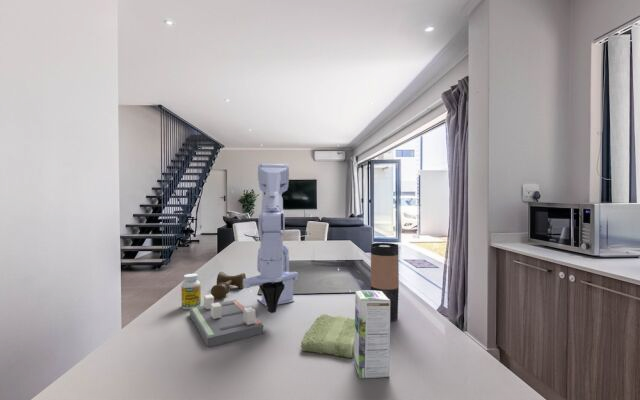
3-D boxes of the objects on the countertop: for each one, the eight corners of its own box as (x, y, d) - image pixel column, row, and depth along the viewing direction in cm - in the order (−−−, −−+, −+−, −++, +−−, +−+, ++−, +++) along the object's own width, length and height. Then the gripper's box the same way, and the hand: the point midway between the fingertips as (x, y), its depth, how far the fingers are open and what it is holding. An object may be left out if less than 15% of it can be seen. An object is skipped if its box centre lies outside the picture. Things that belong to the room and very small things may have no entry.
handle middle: (218, 313, 81) (218, 302, 81) (221, 317, 78) (221, 305, 78) (210, 315, 80) (210, 303, 80) (213, 319, 77) (213, 307, 77)
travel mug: (400, 314, 87) (401, 243, 87) (395, 324, 80) (395, 247, 80) (374, 309, 90) (374, 242, 90) (367, 319, 83) (367, 245, 83)
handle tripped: (251, 318, 77) (251, 307, 77) (255, 323, 75) (255, 310, 75) (243, 320, 76) (243, 308, 76) (247, 324, 74) (247, 312, 74)
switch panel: (235, 306, 93) (235, 299, 93) (263, 333, 74) (263, 324, 74) (189, 315, 86) (189, 307, 86) (207, 347, 67) (207, 337, 67)
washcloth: (367, 327, 79) (367, 315, 79) (356, 362, 62) (356, 347, 62) (318, 322, 82) (318, 310, 82) (295, 353, 65) (295, 338, 65)
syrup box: (353, 362, 61) (353, 290, 61) (382, 361, 62) (382, 289, 62) (359, 379, 55) (359, 299, 55) (391, 377, 56) (391, 298, 56)
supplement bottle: (198, 302, 96) (198, 272, 96) (202, 307, 92) (202, 275, 92) (180, 305, 93) (180, 274, 93) (183, 311, 89) (183, 278, 89)
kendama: (202, 301, 99) (224, 282, 119) (232, 302, 99) (249, 283, 119) (203, 283, 99) (224, 267, 119) (232, 284, 98) (249, 268, 118)
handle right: (211, 304, 88) (211, 294, 88) (214, 307, 85) (214, 297, 85) (204, 306, 87) (204, 295, 87) (206, 309, 84) (206, 298, 84)
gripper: (249, 264, 71) (249, 322, 71) (303, 258, 79) (303, 310, 79) (240, 259, 77) (240, 313, 77) (291, 254, 85) (291, 303, 85)
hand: (271, 311), depth 79 cm, fingers closed
